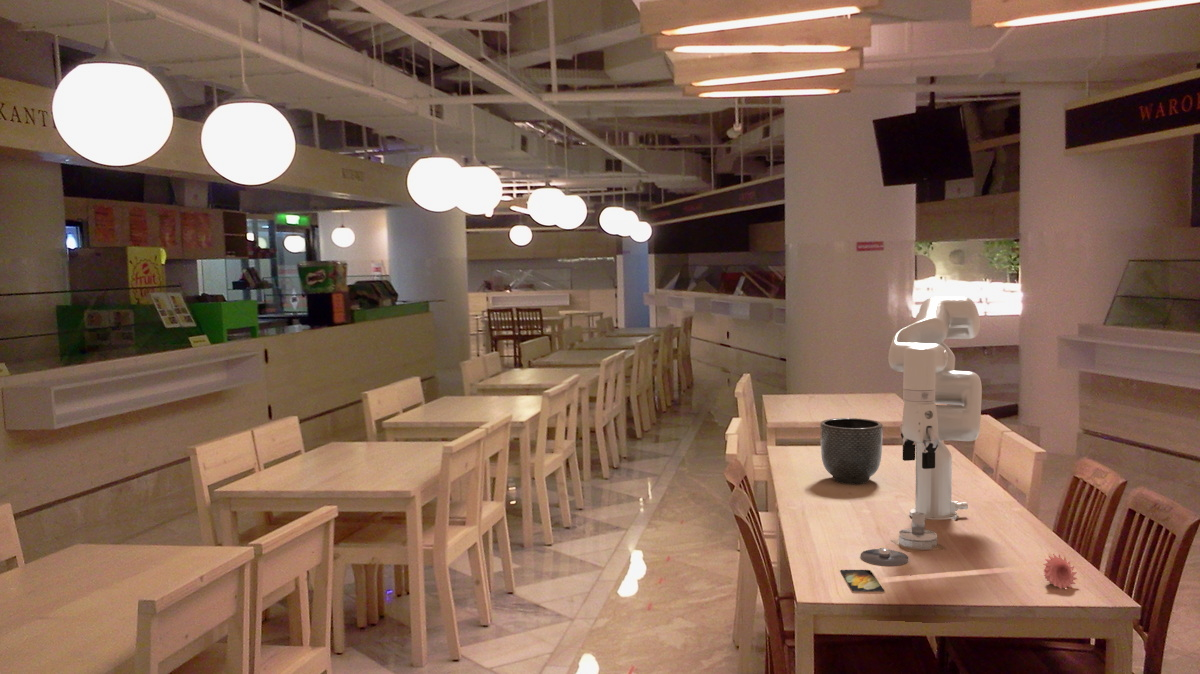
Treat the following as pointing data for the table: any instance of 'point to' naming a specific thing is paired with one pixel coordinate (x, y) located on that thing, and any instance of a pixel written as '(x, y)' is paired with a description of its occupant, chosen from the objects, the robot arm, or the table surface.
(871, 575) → the smartphone
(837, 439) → the planter
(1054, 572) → the flower
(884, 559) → the metal pot lid
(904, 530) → the metal knob with peg
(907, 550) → the stand
